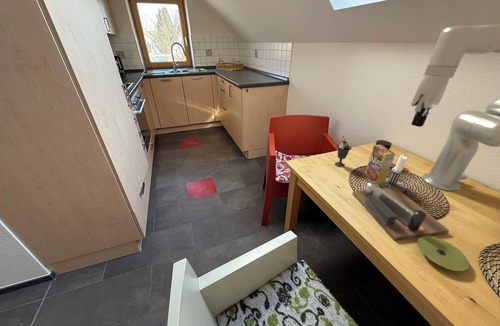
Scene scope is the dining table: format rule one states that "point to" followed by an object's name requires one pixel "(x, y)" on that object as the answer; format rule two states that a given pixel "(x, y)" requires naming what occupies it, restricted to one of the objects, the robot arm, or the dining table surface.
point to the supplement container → (384, 143)
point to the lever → (396, 207)
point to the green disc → (443, 253)
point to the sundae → (342, 152)
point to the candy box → (379, 163)
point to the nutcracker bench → (398, 224)
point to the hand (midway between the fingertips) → (416, 125)
